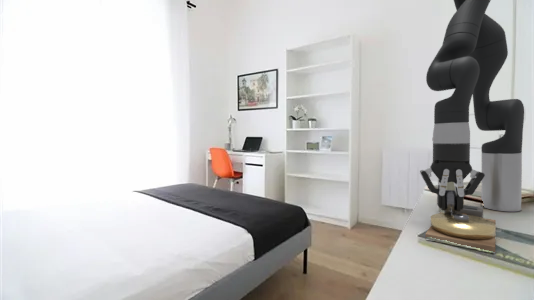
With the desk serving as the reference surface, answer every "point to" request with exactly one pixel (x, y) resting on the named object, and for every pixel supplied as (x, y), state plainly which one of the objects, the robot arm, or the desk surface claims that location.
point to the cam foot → (461, 221)
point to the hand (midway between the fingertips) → (450, 209)
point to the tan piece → (478, 243)
